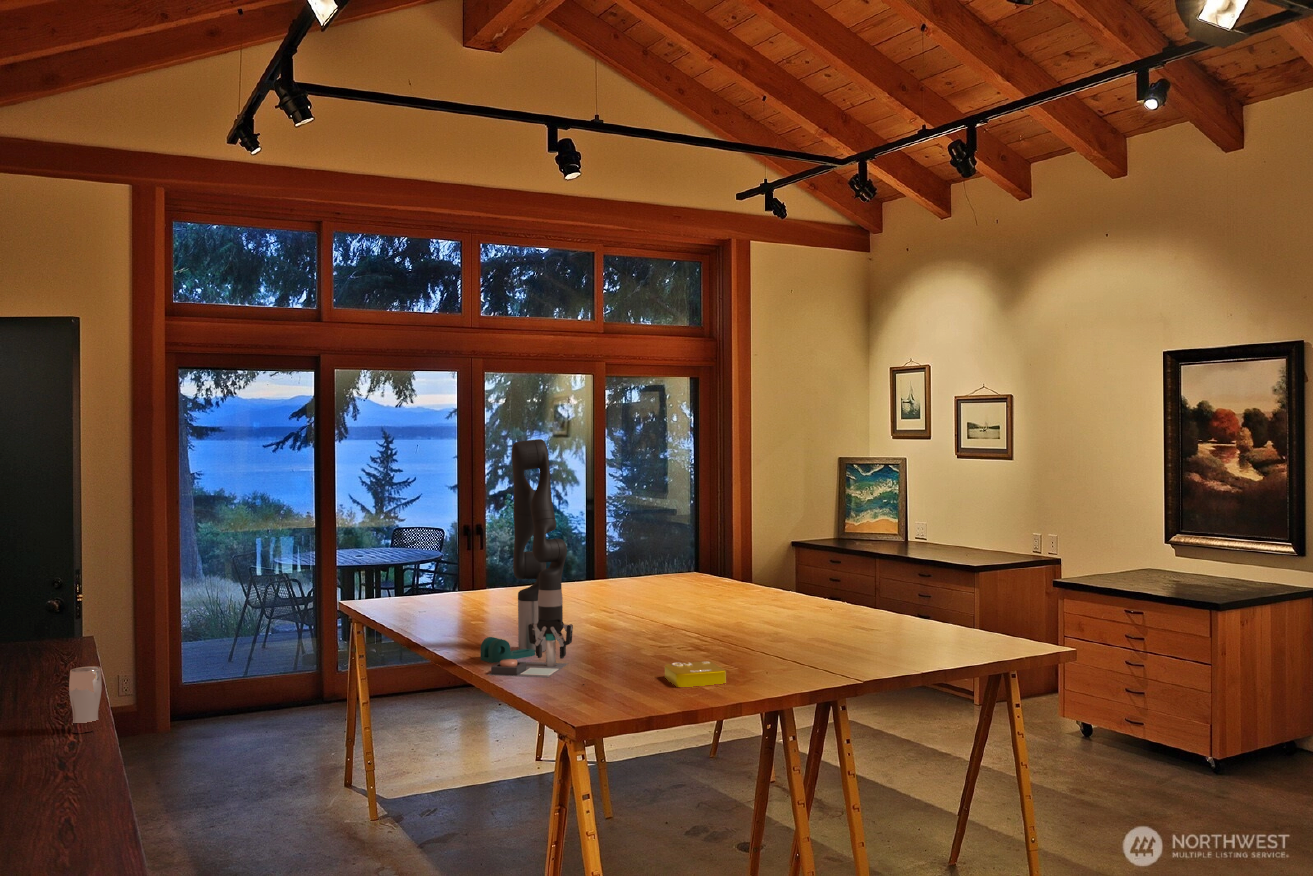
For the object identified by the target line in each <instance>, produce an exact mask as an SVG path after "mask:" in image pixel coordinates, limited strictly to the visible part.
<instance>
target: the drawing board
mask: <svg viewBox="0 0 1313 876" xmlns="http://www.w3.org/2000/svg"><path fill="white" fill-rule="evenodd" d="M568 665H569V663H565V662H563V663H562V662H556V666H553V667H548V666H546V662H542V661H541V662H540V661H539V662H537V661H535V662H533V661H517V666H516V667H500V662H497V663H495V664H493V666H491V669H490V671H491V672H490V673H488V674H487V676H497V677H498V676H499V677H502V676H503V677H521V678H522V677H524V678H525V677H526V678H546V679H547V678H551V676H553V675H554V674H556V673H557V672H558V671H560V670H561V669H563V668H564V667H566V666H568Z"/></svg>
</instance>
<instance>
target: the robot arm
mask: <svg viewBox="0 0 1313 876" xmlns="http://www.w3.org/2000/svg"><path fill="white" fill-rule="evenodd" d="M511 447H512V448H511V461H512V476H513V533H514V538H513V539H514V541H513V542H514V546H513V561H512V562H513V563H512V567H513V568H512V571H513V574H514V577H515V579H516V580H517V579H518V580H535V582H534V583H533V584H531V585H530V586H528V587H526V588H523V589H521V590H519V591H518V593H517V622H518V623H517V625H518V627H517V631H518V634H517V635H518V636H517V640H518V641H517V646H518V647H517V648H518V649H517V650H520V649H532V650H535V656H536V657H537V658H538V659H541V658H542V657H543V653H544V652H546V651H545V650H546V640H545V637H546V634H553V637H555V638H556V641H557V642H558V644H559V659H561V660H562V659H563V660H564V658H565V657H566V656H567V646H568V645H571V644H572V642H573V631H574V625H573V624H572V623H570V624H565V623H564V622H563V619H564V615H563V614H564V613H563V606H564V605H563V604H564V603H563V589H562V588H563V587H562V576H563V572H564V566H565V562H566V559H567V554H568V548H567V544H566V542H565V541H564V540H563V539H561V538H549V539H548V538H547V537H546V536H547V534H549V533H551V532H553V531H555V530H556V529H557V521H556V515H555V511H554V506H553V498H552V481H551V480H552V479H551V470H550V468H551V467H550V456H549V455H550V454H549V450H548V446H547V444H546V442H545V441H544V440H543V439H542V438H541V439H539V438H537V439H528V440H526V439H525V440H521V441H515V442H514V443H513V444H512V446H511ZM535 469H538V470H539V479H538V484H537V487H536V488H535V490H534V488H533V487H532V486H531V484H530V483H529V482H528V480H527V478H526V476H525V471H528V470H535ZM532 537H533V538H532ZM531 538H532V551H525V549H526V546H527V544H528V543H529V541H530V539H531ZM547 563H550V564H549V566H548V567H547ZM563 629H564V631H565V633H566V635H565V636H564V635H563V633H562V630H563ZM564 637H565V638H564Z"/></svg>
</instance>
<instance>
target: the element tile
mask: <svg viewBox="0 0 1313 876" xmlns="http://www.w3.org/2000/svg"><path fill="white" fill-rule="evenodd" d="M665 678H666V679H667V680H668V681H667V680H666V679H665ZM664 679H665V680H666V681H667V682H668V683H670V682H671V683H672V684H671V683H670V684H671V685H673V684H674V685H675V686H676V687H675V686H674V685H673V686H674V687H675V688H677V687H692V688H694V687H693V686H705V685H714V684H723V683H726V684H727V670H726V669H724V668H722V666H719V665H718V664H717V663H715V662H713V661H710V660H709V661H708V660H705V661H693V662H691V661H690V662H673V663H666V664H665V665H664ZM705 687H706V686H705Z"/></svg>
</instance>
